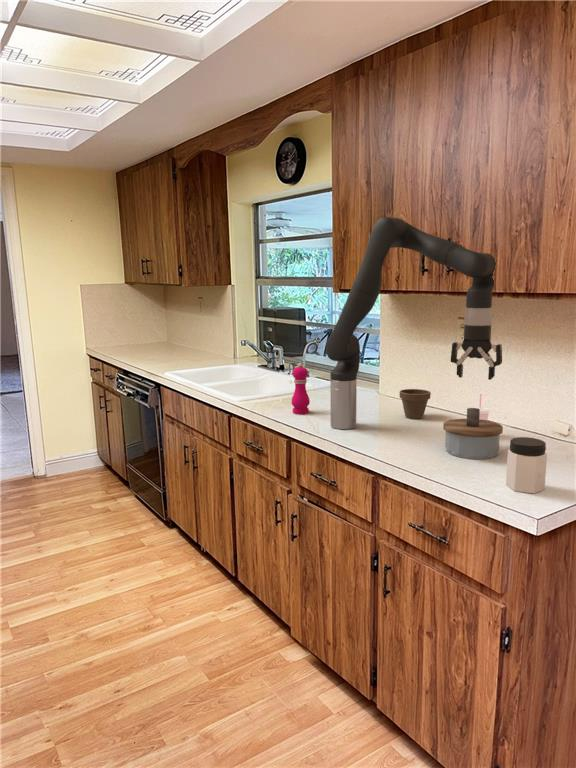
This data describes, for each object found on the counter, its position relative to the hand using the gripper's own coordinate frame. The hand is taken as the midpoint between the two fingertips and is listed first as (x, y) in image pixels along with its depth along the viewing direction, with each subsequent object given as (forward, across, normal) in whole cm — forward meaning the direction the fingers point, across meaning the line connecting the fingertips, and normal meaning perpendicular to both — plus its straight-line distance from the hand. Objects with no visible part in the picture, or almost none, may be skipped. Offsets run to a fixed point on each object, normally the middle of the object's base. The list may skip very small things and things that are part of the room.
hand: (475, 378), depth 168 cm
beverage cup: (+23, +2, -20) cm, 30 cm away
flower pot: (+23, +29, -34) cm, 50 cm away
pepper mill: (+23, +71, -21) cm, 78 cm away
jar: (+23, -18, +24) cm, 38 cm away
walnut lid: (+16, 0, 0) cm, 16 cm away
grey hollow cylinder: (+23, 0, 0) cm, 23 cm away
